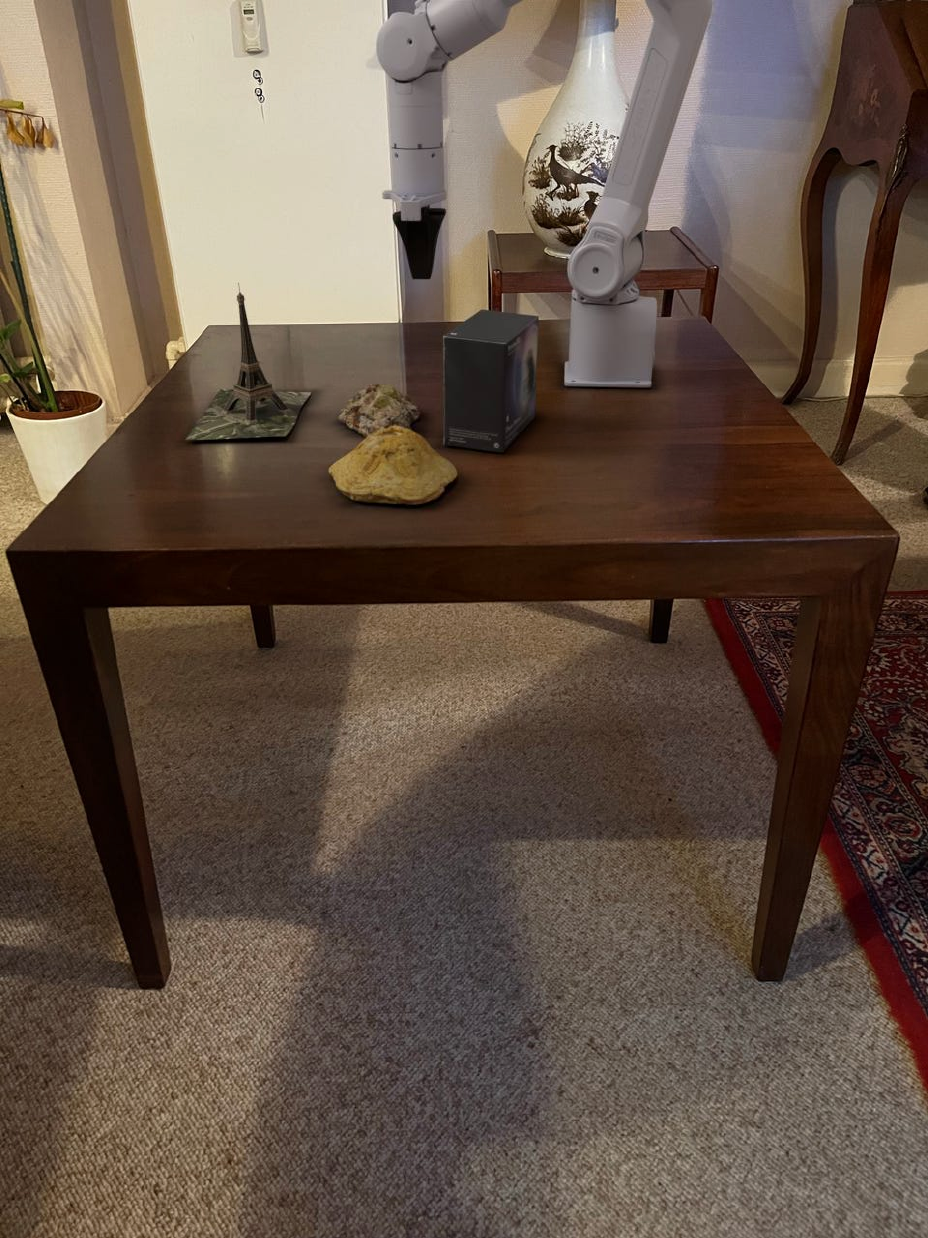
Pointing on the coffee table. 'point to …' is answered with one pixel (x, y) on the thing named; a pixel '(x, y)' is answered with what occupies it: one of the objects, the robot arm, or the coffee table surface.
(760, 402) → the coffee table surface
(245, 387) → the eiffel tower figurine
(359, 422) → the mineral rock
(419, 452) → the fossil
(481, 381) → the small box
